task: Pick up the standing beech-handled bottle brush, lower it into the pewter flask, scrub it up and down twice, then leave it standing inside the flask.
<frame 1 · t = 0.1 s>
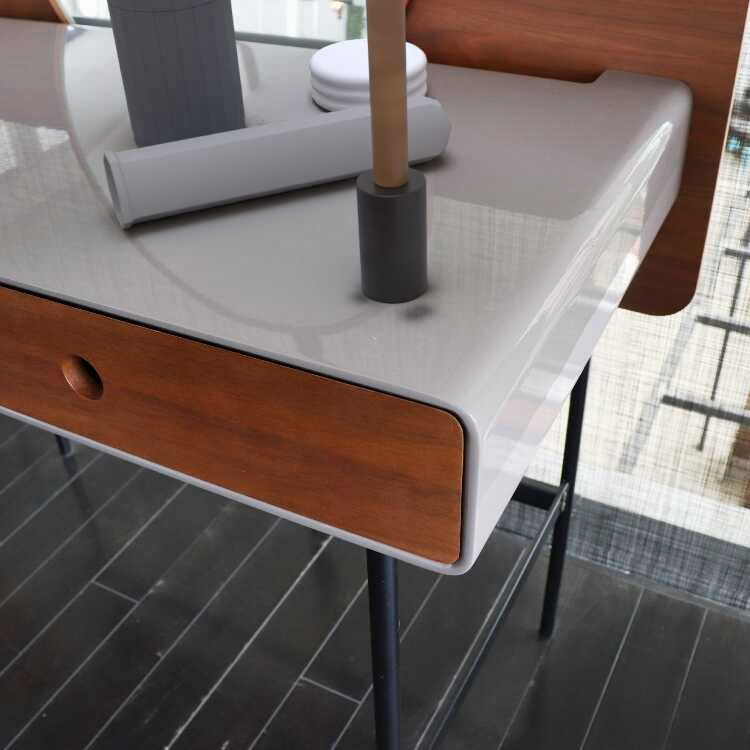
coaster: (369, 98, 86), on the table
brush: (394, 285, 61), on the table
tube: (291, 189, 73), on the table
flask: (190, 132, 81), on the table
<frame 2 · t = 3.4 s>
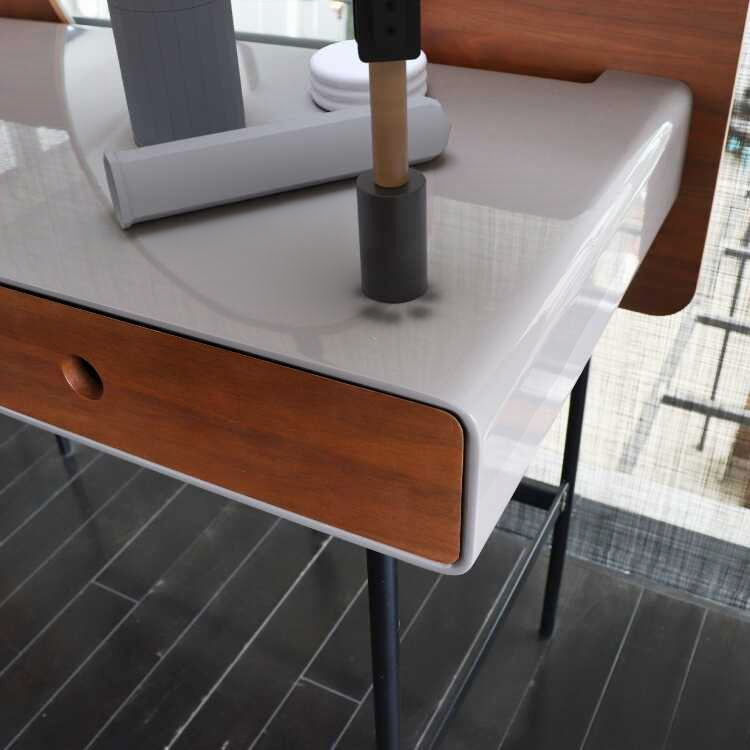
hand: (386, 47, 52), 15 cm above the table, tool pointing down, fingers closed on brush, 2 cm apart
brush: (394, 285, 61), on the table, touching gripper
everything else where it was.
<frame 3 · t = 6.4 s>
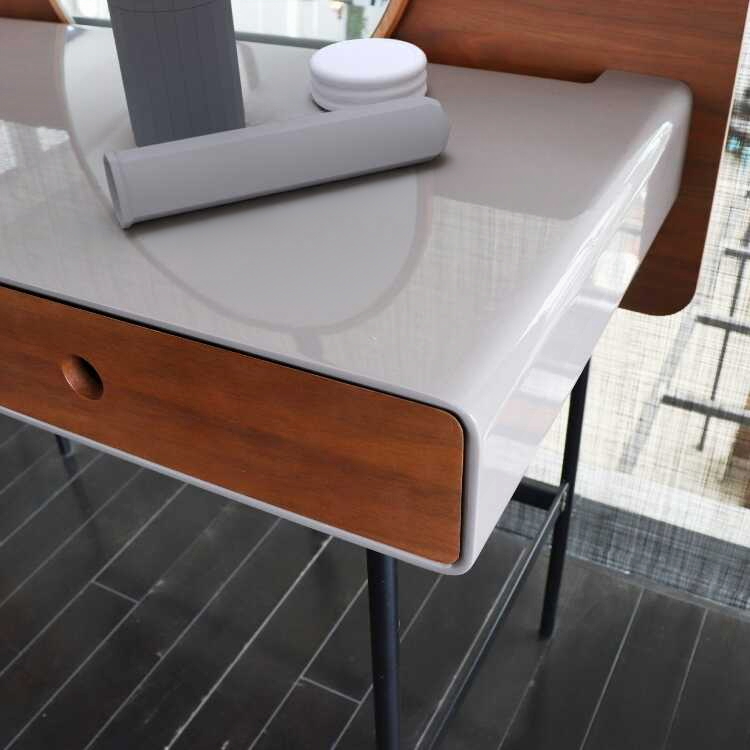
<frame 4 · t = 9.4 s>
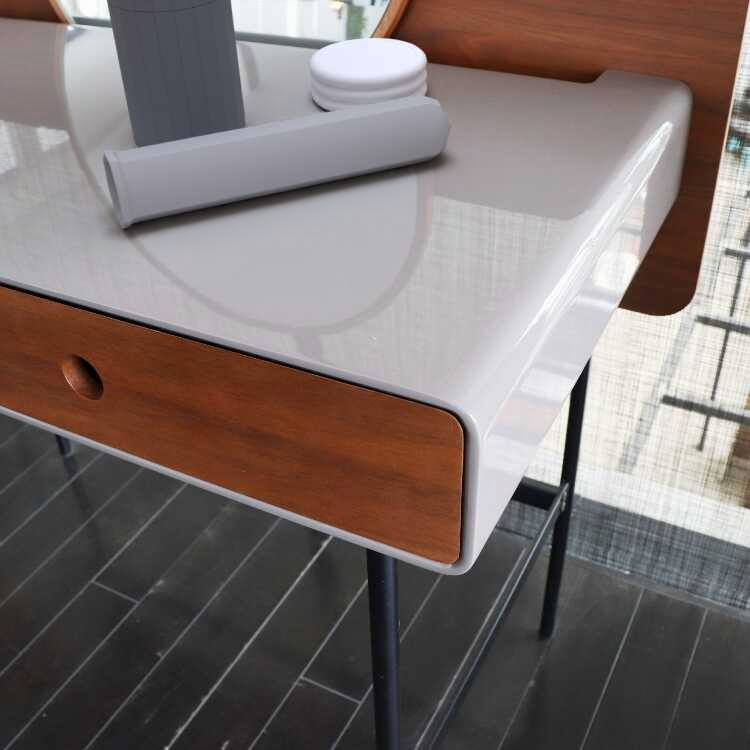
brush: (179, 36, 76), point 8 cm above the table, touching gripper
everything else where it was.
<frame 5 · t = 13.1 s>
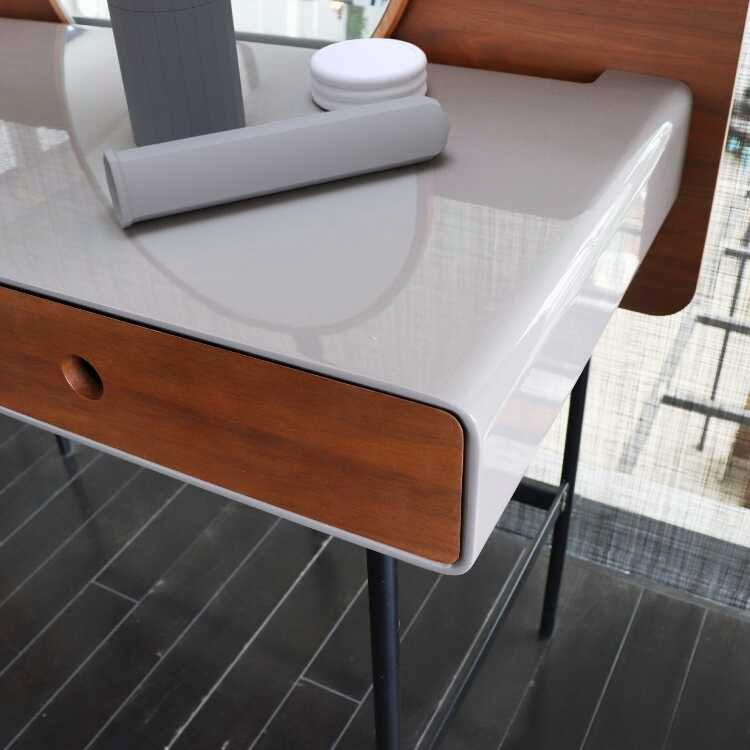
brush: (175, 63, 78), point 6 cm above the table, touching gripper
everything else where it was.
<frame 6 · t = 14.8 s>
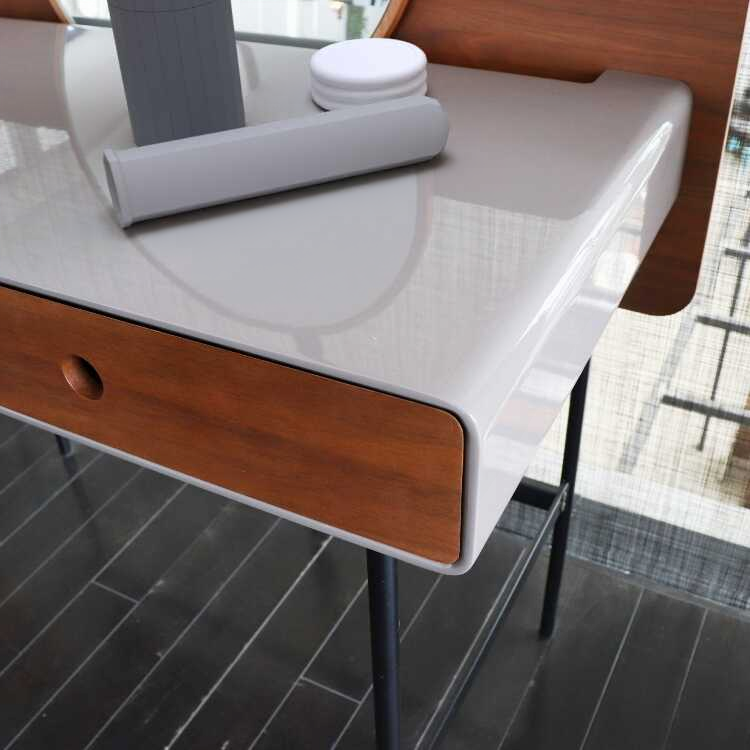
brush: (189, 98, 79), point 3 cm above the table, touching gripper
everything else where it was.
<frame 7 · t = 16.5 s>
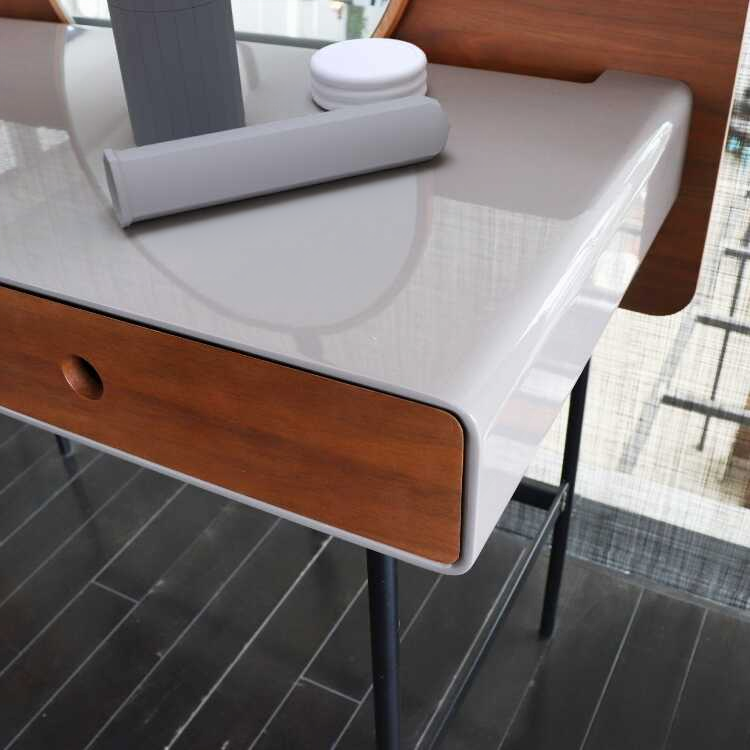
brush: (191, 123, 81), point 1 cm above the table, touching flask
everything else where it was.
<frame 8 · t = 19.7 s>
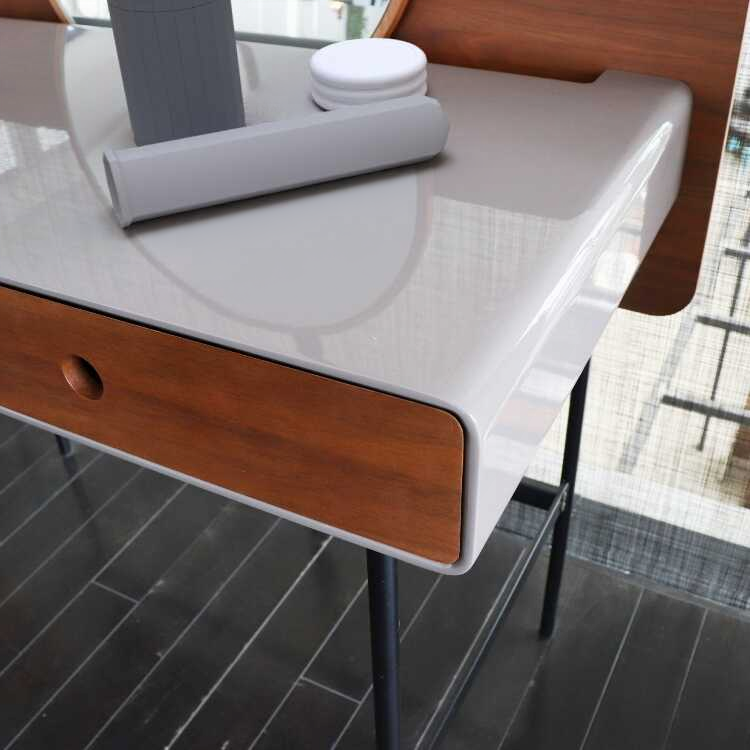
nothing on the table moved.
at the end: brush 0.2 cm off-centre in the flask, point 0.8 cm above the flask's base; brush tilted 0°; brush moved 29.5 cm from its start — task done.
